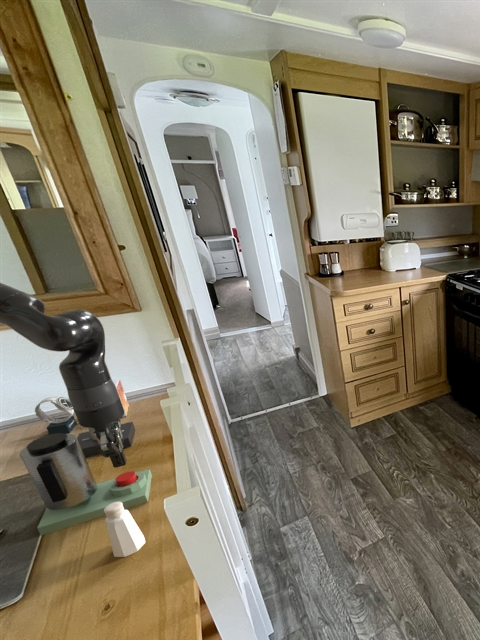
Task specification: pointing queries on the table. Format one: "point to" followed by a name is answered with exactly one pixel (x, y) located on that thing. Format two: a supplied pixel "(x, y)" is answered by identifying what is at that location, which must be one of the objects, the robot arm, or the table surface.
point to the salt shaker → (122, 530)
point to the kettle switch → (126, 479)
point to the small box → (122, 396)
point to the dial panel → (90, 445)
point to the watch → (61, 423)
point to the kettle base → (98, 503)
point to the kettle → (59, 470)
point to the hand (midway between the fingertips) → (120, 464)
